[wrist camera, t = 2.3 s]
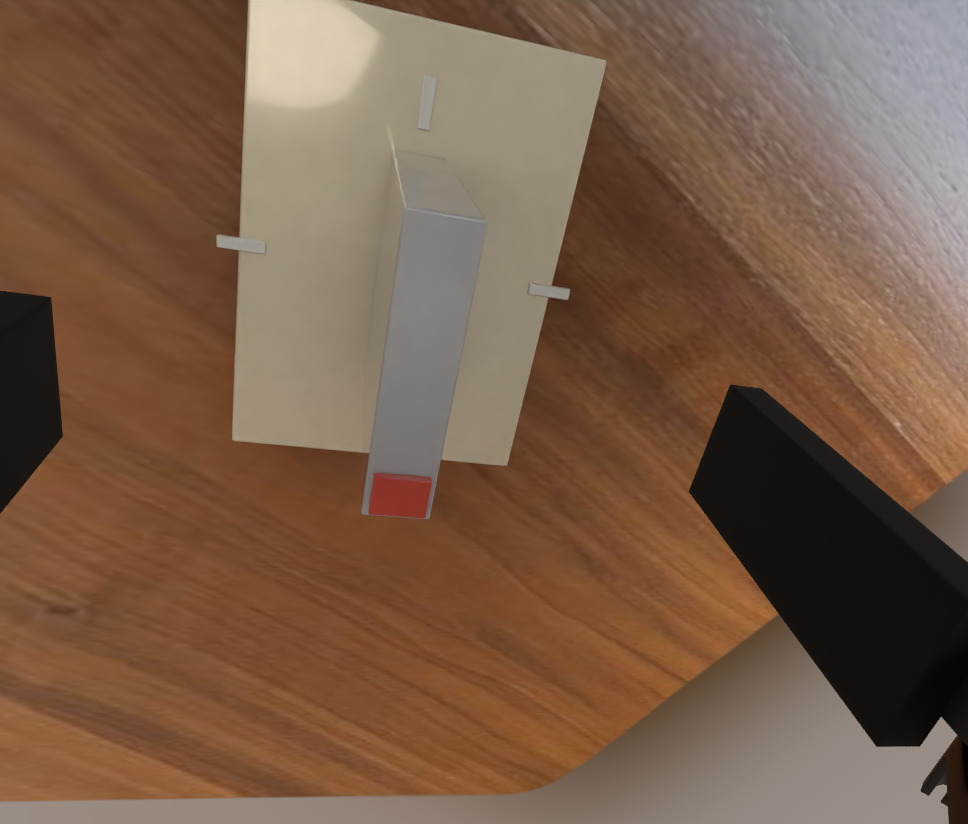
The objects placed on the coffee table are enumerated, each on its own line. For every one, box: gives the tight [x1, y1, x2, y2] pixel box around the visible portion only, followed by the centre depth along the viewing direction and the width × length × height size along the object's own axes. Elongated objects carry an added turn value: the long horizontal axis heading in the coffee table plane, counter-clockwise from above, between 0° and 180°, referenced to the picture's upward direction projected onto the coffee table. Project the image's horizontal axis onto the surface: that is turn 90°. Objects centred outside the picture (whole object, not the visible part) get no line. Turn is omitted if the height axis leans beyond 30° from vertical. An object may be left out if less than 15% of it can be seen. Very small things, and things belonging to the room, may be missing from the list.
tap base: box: [217, 0, 606, 466], centre depth 23 cm, size 14×11×3 cm
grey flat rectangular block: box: [361, 149, 487, 519], centre depth 18 cm, size 7×2×9 cm, turn 169°
